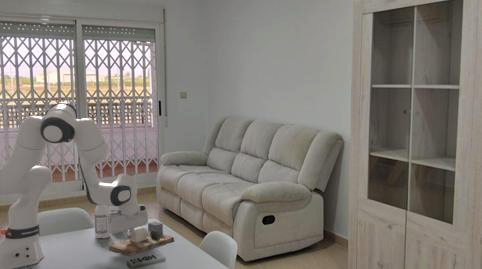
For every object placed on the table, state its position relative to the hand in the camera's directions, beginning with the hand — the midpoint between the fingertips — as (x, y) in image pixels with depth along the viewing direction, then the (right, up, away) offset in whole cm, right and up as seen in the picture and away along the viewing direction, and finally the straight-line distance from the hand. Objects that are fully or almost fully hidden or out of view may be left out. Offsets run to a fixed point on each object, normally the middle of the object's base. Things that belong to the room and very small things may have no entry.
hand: (128, 238), depth 210 cm
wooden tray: (+6, -3, +2) cm, 7 cm away
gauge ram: (+5, -1, +4) cm, 7 cm away
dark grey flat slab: (+12, -1, +5) cm, 13 cm away
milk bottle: (-13, -2, +27) cm, 30 cm away
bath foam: (-16, -3, +15) cm, 22 cm away
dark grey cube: (+10, -1, +12) cm, 16 cm away
